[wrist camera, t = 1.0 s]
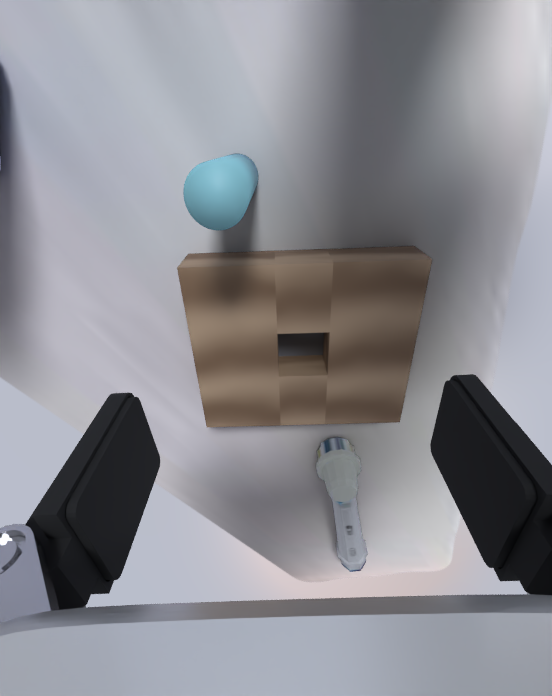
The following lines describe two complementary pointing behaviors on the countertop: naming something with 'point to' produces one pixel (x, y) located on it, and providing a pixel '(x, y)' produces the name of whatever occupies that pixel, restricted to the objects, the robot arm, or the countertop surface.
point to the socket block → (304, 333)
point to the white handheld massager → (343, 498)
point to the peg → (220, 190)
